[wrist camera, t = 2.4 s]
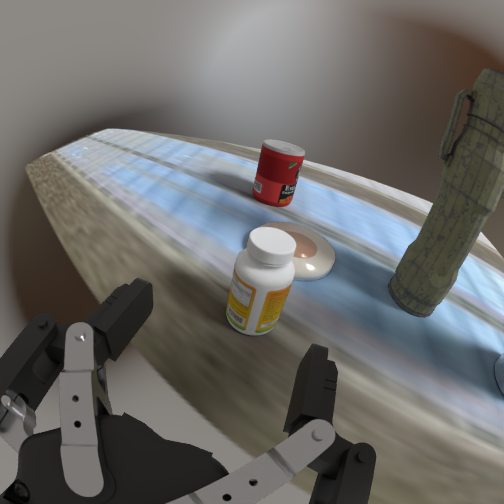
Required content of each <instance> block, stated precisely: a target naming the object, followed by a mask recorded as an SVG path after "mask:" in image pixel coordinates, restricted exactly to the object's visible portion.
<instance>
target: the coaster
mask: <svg viewBox="0 0 504 504" xmlns="http://www.w3.org/2000/svg"><path fill="white" fill-rule="evenodd" d="M260 227H272V228H276V229H279V230H282V231H284V232H286V233H288V234H289V235H290V236H291V237H292V238H293V239H294V240H295V242H296V249H295V252H294V256H293V258H292V260H291V261H292V263H293V265H294V268H295V275H294V279H293V280H298V281H314V280H318V279H321V278H323V277H325V276H326V275H328V273H329V272H330V270H331V268H332V266H333V264H334V262H335V252H334V249H333V248H332V246H331V245H330V243H329V242H328V241H327V240H326V239H325V238H323V237H322V236H321V235H319V234H318V233H316V232H314V231H312V230H310V229H308V228H306V227H303V226H300V225H297V224H293V223H287V222H271V223H266V224H263V225H261V226H260ZM258 228H259V227H258Z"/></svg>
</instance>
